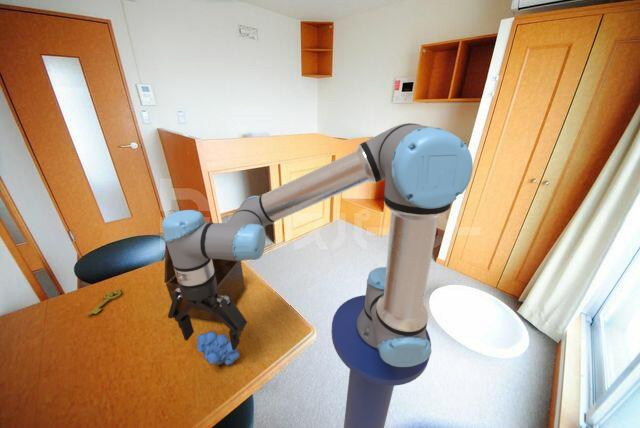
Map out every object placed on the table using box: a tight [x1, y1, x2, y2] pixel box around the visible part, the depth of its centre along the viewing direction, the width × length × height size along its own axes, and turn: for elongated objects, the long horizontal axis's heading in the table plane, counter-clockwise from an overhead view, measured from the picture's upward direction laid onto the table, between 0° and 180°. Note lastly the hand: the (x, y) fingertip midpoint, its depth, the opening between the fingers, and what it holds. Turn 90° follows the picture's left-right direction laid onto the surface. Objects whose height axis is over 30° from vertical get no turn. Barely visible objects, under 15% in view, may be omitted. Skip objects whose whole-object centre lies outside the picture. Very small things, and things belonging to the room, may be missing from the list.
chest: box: [165, 259, 246, 324], centre depth 86 cm, size 18×17×14 cm
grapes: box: [196, 330, 241, 366], centre depth 64 cm, size 12×7×12 cm, turn 85°
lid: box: [163, 213, 205, 284], centre depth 80 cm, size 19×17×1 cm
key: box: [88, 289, 122, 316], centre depth 87 cm, size 12×1×5 cm
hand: (212, 340), depth 63 cm, fingers open, 13 cm apart
